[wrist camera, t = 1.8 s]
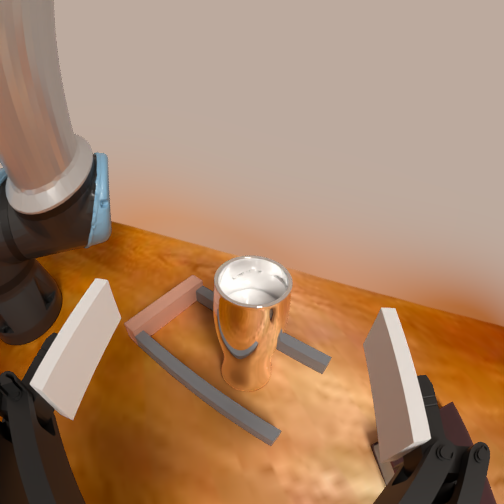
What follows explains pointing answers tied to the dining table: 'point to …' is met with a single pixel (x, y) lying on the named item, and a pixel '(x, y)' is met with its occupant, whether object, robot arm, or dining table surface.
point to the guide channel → (155, 320)
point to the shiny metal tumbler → (250, 317)
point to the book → (454, 433)
